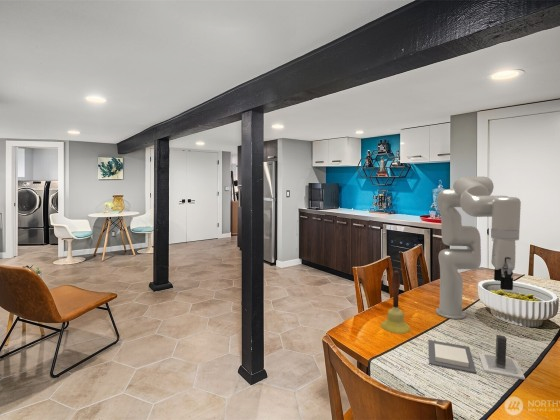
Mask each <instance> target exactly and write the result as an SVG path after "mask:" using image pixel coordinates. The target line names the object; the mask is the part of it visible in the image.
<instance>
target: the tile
mask: <svg viewBox="0 0 560 420" xmlns="http://www.w3.org/2000/svg"><path fill="white" fill-rule="evenodd" d="M435 361H437V362H443V363H448V364H453V365H458V366H463V367H468V368H469V362H468V358H467V354H466V350H465V349H463V348H457V347H451V346H446V345H440V344H435Z"/></svg>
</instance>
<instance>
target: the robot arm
mask: <svg viewBox="0 0 560 420" xmlns="http://www.w3.org/2000/svg"><path fill="white" fill-rule="evenodd" d="M492 180H493V179H491V178H490V177H488V176H463V177H459V178H458V179H456V180H455V181H454V182H453V186H452V188H448V189H446V188H445V189H443V190H440V191H439V193H438V194H437V196H436V197H437V199H436V203H437V208H438V211H439V214H440V222H441V224H440V225H441V241H442V244H444V245H445V246H450V247H466V248H445V249H442V250H440V251H439V253H438V262H439V272H440V273H439V275H440V276H439V307H436V309H435V312H436V314H437V315H439V316H441V317H444V318H447V319H452V320H463V319H465V318H466V316H467V314H466V312H465V311H464V310H463V295H464V294H463V292H464V291H463V289H464V288H463V287H464V285H463V284H464V279H463V276H462V275H461V274H460V272H458V270H477V269H479V268H480V267H481V264H482V249H481V247H482V246H481V245H482V244H481V233H480V231H479V229H478V228H477V227H475V226H473V225H463V223H462V215H461V213H460V212H459V210H458V209H457V208H461V210H462V211H463V212H464V213H465V214H467V215H468V216H470V217H474V218H475V217H476V218H482V217H483V218H486V217H487V218H488V217H489V218H491V235H490V238H491V239H493V240H492V241H493V242H492V251H491V265H492V266H493V267H494V270H493V271H494V272H493V273H494V275H493V280H494V281H495V282H500V283H499V284H500V286H499V289H501V290H504V291H513V290H514V273H513V271H514V270H515V268H516V248H517V246H516V241H520V229H521V228H520V226H521V206H522V203H521V202H522V201H521V199H520V198H519V197H516V196H515V197H513V196H507V195H492V193H493V191H494V183H493V181H492Z"/></svg>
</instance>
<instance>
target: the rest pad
mask: <svg viewBox="0 0 560 420" xmlns="http://www.w3.org/2000/svg"><path fill="white" fill-rule="evenodd" d="M484 355H485V354H484V353H483V354H482V353H478V357H479V361H480V363H481V367H482V370H483V372H485V373H489V374H495V375H500V376H503V377H510V378H514V379H519V380H524V381H525V380H526V377H525V375H524V373H523V371H522V369H521V367H520V366H519V363H518V362H517V360H516V359H512V361H513V363H514V365H515V367H516V369H517V371H518V374H515V373H510V372H505V371H500V370H495V369H490V368H488V365H487V362H486V359H485V357H484Z"/></svg>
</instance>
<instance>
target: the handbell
mask: <svg viewBox="0 0 560 420" xmlns="http://www.w3.org/2000/svg"><path fill="white" fill-rule="evenodd" d="M391 288H392V290H393V292H392V294H393V295H392V296H393V298H392V308H390V309H389V310H388V311H387V318H386V319H385V320H383V321H382V322H381V323H380V328H382V329H383V330H384V331H386V332H389V333H392V334H399V335H401V334H408V333H409V332H410V331H411V327H410V326H409V324H408V323H407V322H406V321H405V320H404V319H405V316H404V315H405V314H404V312H403V310H401V309H400V308H399V294H400V293H399V292H400V291H399V290H400V288H401V276H400V272H399V270H394V271H392V276H391Z"/></svg>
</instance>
